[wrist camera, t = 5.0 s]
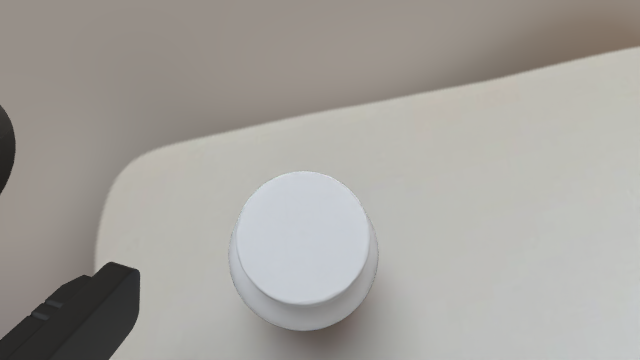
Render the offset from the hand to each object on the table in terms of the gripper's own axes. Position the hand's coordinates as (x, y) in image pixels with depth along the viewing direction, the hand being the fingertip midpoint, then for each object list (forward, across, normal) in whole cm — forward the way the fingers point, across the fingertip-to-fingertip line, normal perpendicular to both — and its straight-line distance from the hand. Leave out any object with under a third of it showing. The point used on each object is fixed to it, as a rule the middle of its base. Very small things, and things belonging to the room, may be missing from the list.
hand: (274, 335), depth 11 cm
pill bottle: (+9, 0, +5) cm, 10 cm away
